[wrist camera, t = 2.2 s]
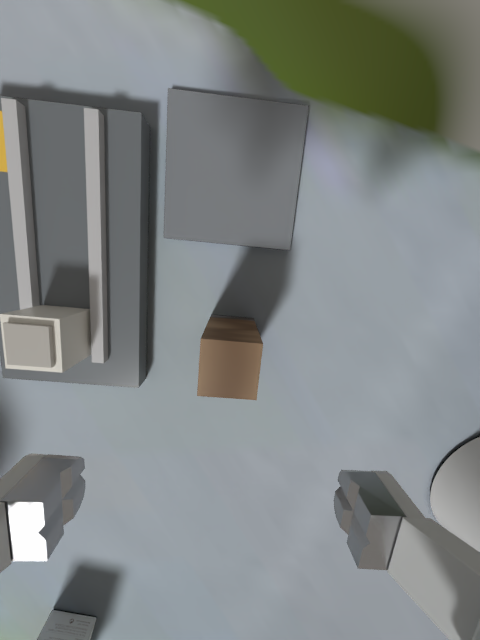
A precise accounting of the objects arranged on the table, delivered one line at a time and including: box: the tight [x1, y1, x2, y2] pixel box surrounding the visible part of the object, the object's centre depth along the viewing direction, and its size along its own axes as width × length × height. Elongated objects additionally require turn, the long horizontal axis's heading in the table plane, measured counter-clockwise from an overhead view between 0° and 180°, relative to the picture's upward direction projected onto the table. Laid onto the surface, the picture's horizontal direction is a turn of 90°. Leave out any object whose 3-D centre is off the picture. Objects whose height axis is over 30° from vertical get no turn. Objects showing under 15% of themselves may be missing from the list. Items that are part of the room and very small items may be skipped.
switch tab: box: [0, 305, 91, 373], centre depth 20 cm, size 4×4×4 cm
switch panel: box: [0, 96, 150, 388], centre depth 21 cm, size 12×22×3 cm, turn 175°
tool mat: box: [164, 88, 309, 250], centre depth 21 cm, size 11×11×1 cm
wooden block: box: [197, 315, 263, 400], centre depth 21 cm, size 4×4×8 cm
